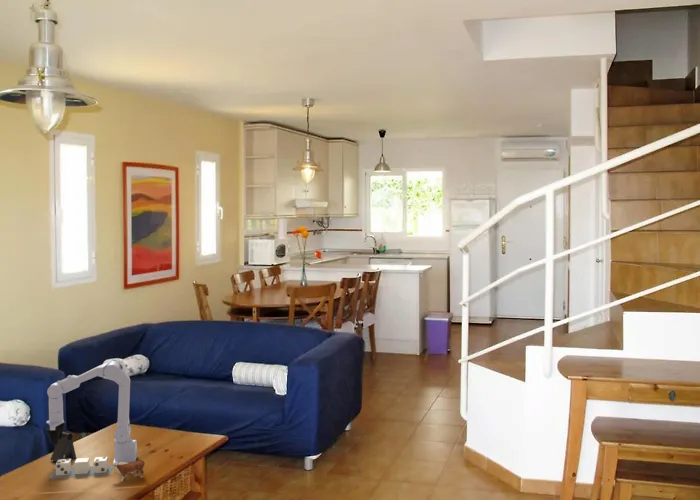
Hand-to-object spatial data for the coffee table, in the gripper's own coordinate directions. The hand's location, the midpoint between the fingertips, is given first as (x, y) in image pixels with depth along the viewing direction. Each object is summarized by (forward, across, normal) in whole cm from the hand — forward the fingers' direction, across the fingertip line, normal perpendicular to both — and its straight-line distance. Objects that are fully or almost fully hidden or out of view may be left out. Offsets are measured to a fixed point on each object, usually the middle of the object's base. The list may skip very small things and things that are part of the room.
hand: (56, 441), depth 315 cm
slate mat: (+10, +13, +13) cm, 21 cm away
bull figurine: (+10, +24, +33) cm, 42 cm away
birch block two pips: (+10, +13, +20) cm, 26 cm away
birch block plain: (+10, +13, +13) cm, 20 cm away
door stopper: (+10, -4, +2) cm, 11 cm away
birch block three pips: (+10, +13, +5) cm, 17 cm away
